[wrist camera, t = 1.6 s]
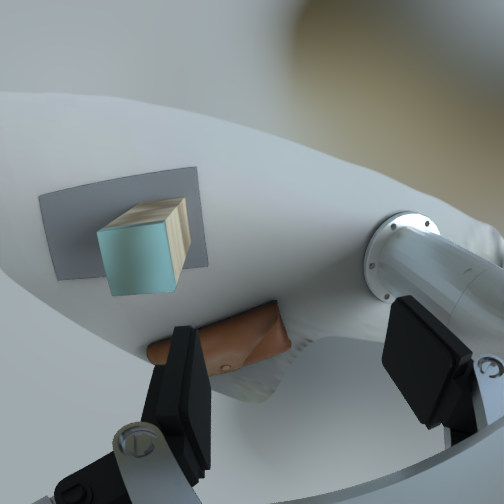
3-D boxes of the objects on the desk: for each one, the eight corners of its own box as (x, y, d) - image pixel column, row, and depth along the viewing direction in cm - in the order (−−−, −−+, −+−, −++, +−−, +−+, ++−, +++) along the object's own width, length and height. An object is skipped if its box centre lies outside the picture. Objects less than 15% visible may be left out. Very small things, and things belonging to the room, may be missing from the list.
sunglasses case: (178, 385, 39) (160, 398, 33) (160, 341, 41) (140, 347, 34) (296, 346, 39) (298, 354, 32) (277, 298, 40) (276, 298, 33)
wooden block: (185, 196, 30) (162, 223, 19) (191, 242, 32) (174, 291, 21) (140, 202, 30) (96, 232, 19) (147, 247, 32) (112, 296, 20)
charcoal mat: (196, 166, 30) (196, 166, 30) (208, 264, 34) (208, 266, 33) (41, 195, 29) (38, 196, 28) (60, 278, 33) (58, 280, 32)
